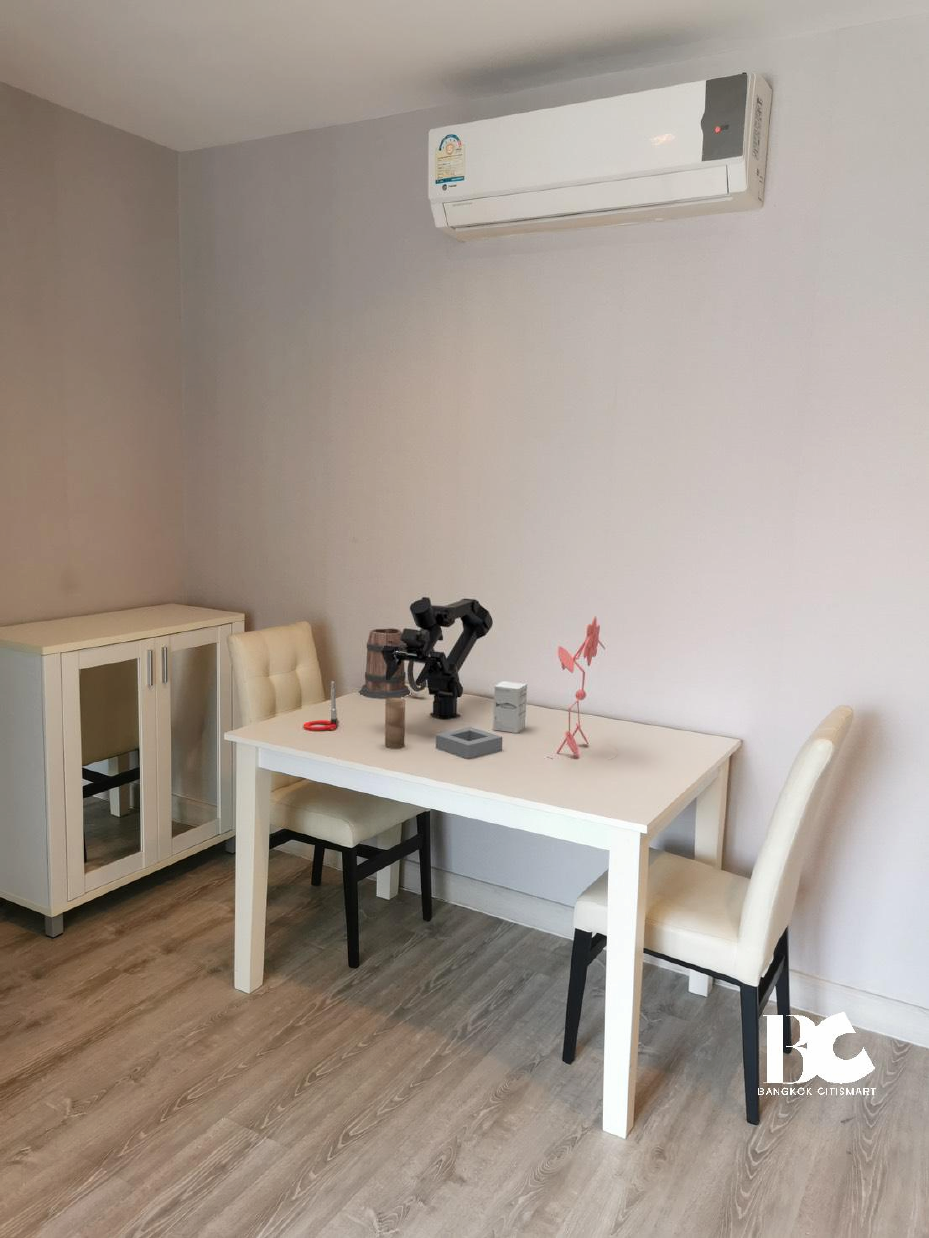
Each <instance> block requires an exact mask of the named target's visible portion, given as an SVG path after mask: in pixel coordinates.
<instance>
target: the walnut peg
mask: <svg viewBox="0 0 929 1238" xmlns="http://www.w3.org/2000/svg"><path fill="white" fill-rule="evenodd" d="M384 704H385V709H384V710H385V711H384V713H385V715H384V716H385V717H384V718H385V720H384V721H385V722H384V747H385V746H386V748H387V747H388V748H389V749H401V748H404V747H405V741H406V740H405V738H406V736H405V735H406V734H405V733H406V732H405V731H406V727H405V726H406V699H404V698H388V699H385V703H384Z"/></svg>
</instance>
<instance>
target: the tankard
mask: <svg viewBox="0 0 929 1238" xmlns="http://www.w3.org/2000/svg"><path fill="white" fill-rule="evenodd" d="M402 632H403V630H401V629H397V628H391V627H390V628H375V629H370V631H369V634H368V639H367V642H366V649H367V650H366V665H365V667H366V668H365V670H366V671H365V672H364V680H365V682H364V684H363V685H362V687H361V689H360V690H358V694H359V693H360V694H359V695H360V696H361V695H363V696H362V697H364V696H365V698H369V699H375V700H376V699H378V700H386V699H388V698H401V697H403V698H405V697H404V696H406V695H409V694H410V691H411V690H413V691H414V692H421V691H424V690H425V689H426V687H427V680H426V681H424V682H422V683H420V684H419V685H417V684H416V680H417V678H416V679H415V676H414V665H415V663H413V662H411V661H408V665H407V671H405V660H402V663H401V665H400V666H399V669H398V670H397V671H396V673H395V674H394V675H393V676H392V677H391V678H390V679H389V680H386V671H387V664H386V662H385V660H384V658H383V655H382V653H381V650H382V648H383V647H384V646H385V645H389V646H397V647H398V649H399V651H400V652H407V650H405V648H404V646H405V643H404V642H403V641H401V640H400V638H401V635H402ZM406 672H407V673H406ZM406 674H407V676H406ZM406 677H407V680H408V681H407V682H408V684H409V686H408V685H406ZM419 686H420V687H419ZM409 687H410V688H411V690H410V689H409ZM409 696H410V695H409Z"/></svg>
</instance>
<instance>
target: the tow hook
mask: <svg viewBox="0 0 929 1238" xmlns="http://www.w3.org/2000/svg"><path fill="white" fill-rule="evenodd" d="M330 685H331V686H330V687H331V689H330V704H331V706H330V707H331V709H330V720H326V719H325V720H323V719H322V720H321V719H320V720H311V721H307V722H305V723H303V724H302V725H303V727H302V728H303V729H304V730H306V731H312V732H317V731H318V732H319V731H327V730H328V731H330V732H331V731H332V732H334V731H335V730H336V729H337V727H338V726H339V724H340V721H339V720H338V714H337V713H338V710H337V707H336V706H337V705H336V702H337V701H336V689H335V682H334V681H331V682H330ZM315 725H322V726H315ZM323 725H324V726H323Z"/></svg>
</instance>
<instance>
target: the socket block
mask: <svg viewBox="0 0 929 1238" xmlns="http://www.w3.org/2000/svg"><path fill="white" fill-rule="evenodd" d="M435 748H436V749H438V750H441V751H444V752H447V753H450V754H452V755H455V756H458V757H461V758H464V759H467V760H469V759H473V757H474V758H478V757H481V756H485V755H489V754H492V753H493V754H494V753H497V752H500V751H501V752H502V751H503V736H502V735H497V734H494V733H492V732H488V731H485V730H482V729H478V728H475V727H473V726H469V727H463V728H460V729H454V730H451V731H446V732H443V733H442V732H441V733H437V734H435Z"/></svg>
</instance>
